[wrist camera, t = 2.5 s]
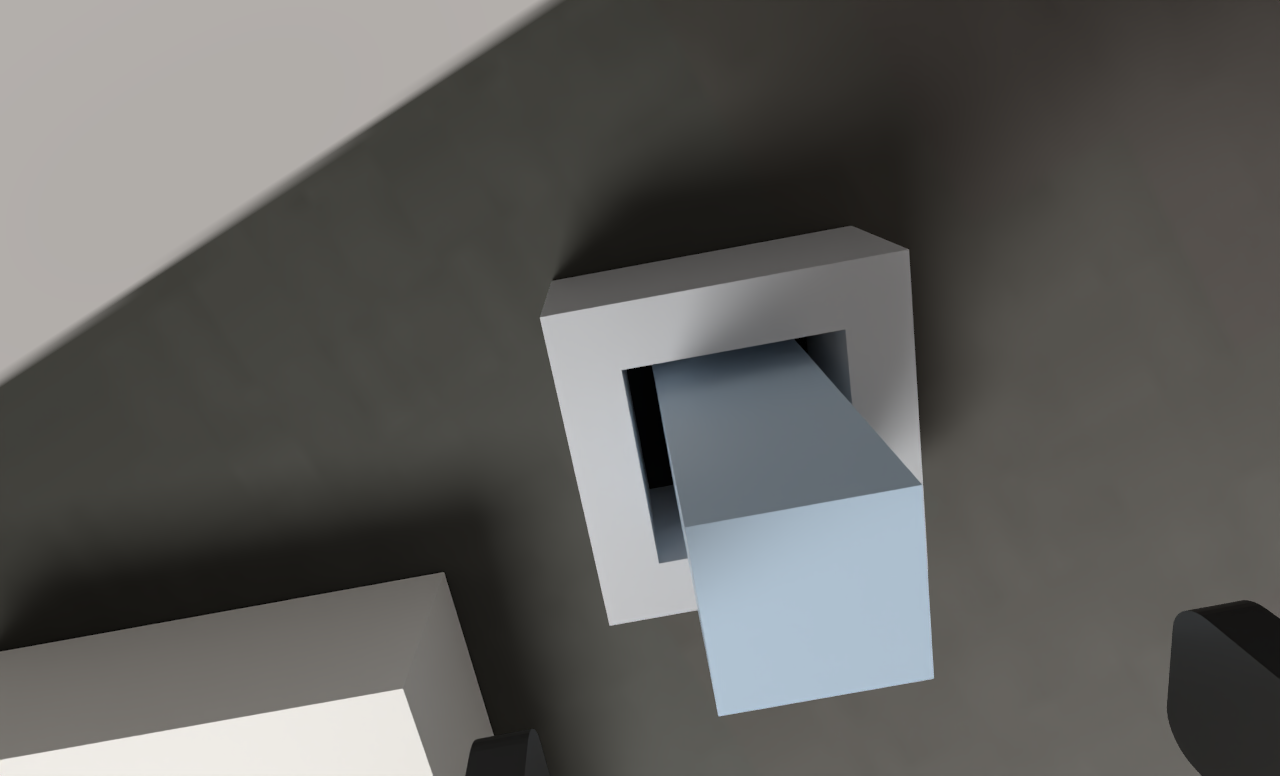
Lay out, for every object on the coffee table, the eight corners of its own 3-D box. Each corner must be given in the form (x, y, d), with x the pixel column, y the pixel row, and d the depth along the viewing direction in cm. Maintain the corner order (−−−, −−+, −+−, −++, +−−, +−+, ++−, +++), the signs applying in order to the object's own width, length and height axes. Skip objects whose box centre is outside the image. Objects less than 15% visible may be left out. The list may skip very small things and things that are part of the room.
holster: (851, 225, 20) (909, 249, 16) (873, 494, 23) (927, 569, 19) (551, 281, 20) (539, 317, 16) (608, 542, 23) (609, 625, 19)
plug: (778, 321, 21) (923, 485, 11) (792, 440, 22) (933, 678, 13) (648, 344, 21) (684, 527, 12) (669, 462, 22) (718, 716, 13)
